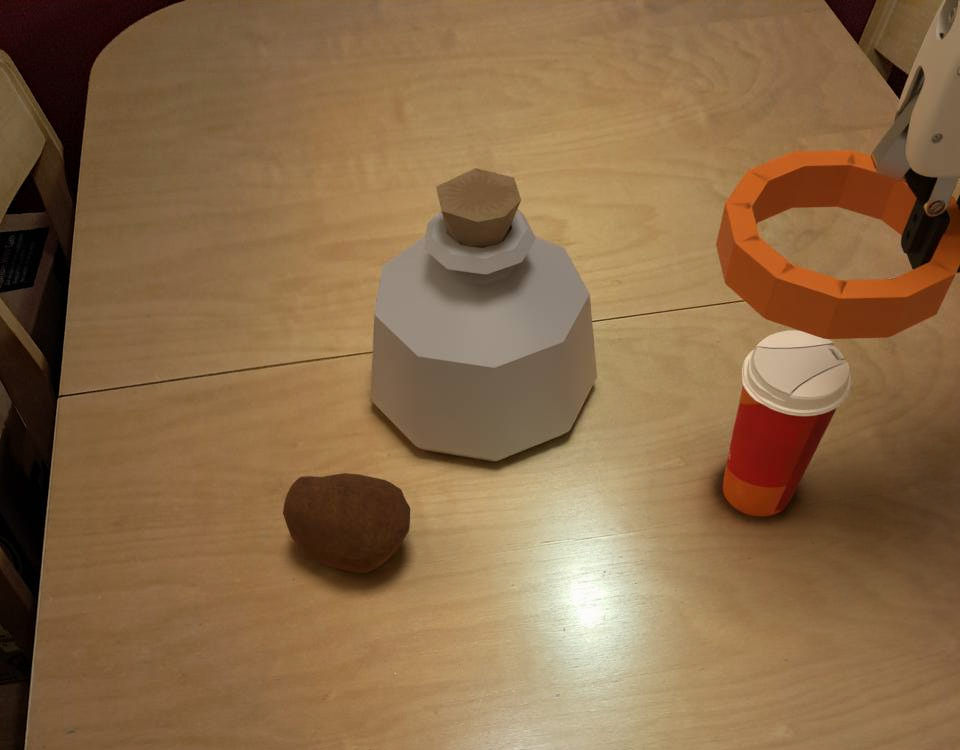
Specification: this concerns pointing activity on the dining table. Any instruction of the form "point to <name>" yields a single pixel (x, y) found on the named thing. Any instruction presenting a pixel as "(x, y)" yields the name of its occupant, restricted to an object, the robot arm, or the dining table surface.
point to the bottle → (481, 329)
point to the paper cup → (782, 418)
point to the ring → (814, 295)
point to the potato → (347, 519)
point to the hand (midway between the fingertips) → (932, 257)
